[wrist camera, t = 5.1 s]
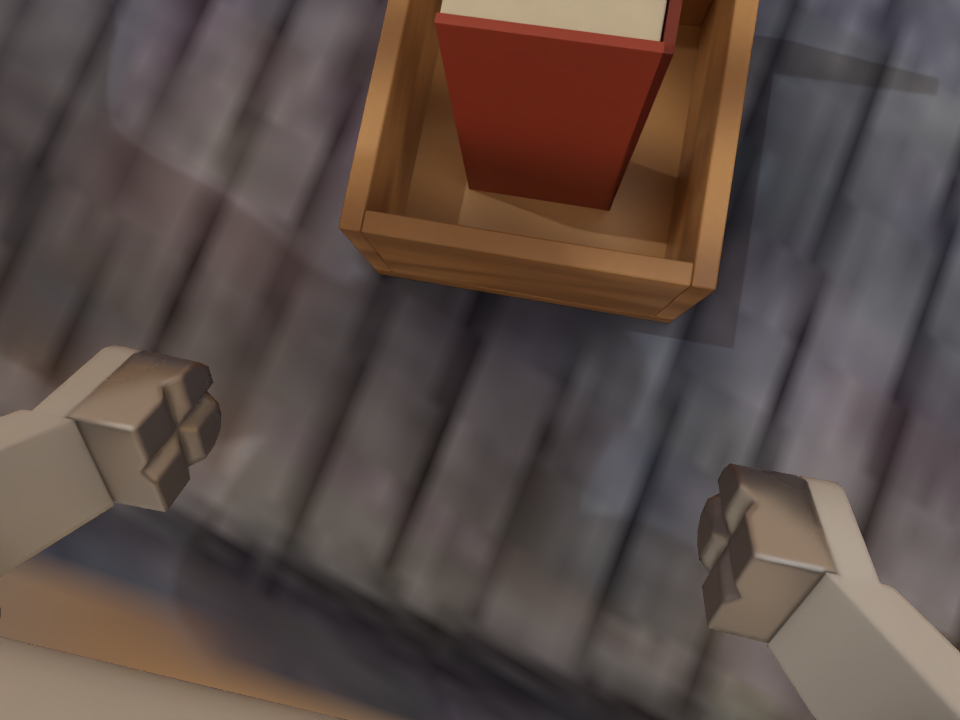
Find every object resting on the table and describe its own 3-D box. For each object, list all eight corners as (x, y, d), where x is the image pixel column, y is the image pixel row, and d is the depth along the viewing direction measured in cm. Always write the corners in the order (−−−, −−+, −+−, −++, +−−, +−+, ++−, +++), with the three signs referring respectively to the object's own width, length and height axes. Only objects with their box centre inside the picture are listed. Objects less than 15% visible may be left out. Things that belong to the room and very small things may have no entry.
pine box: (669, 323, 25) (716, 290, 19) (378, 274, 26) (337, 227, 20) (716, 24, 26) (773, -93, 21) (438, -11, 28) (416, -132, 22)
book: (609, 211, 25) (674, 54, 15) (468, 189, 25) (433, 22, 15) (618, 156, 25) (688, -36, 15) (479, 136, 26) (451, -65, 15)
